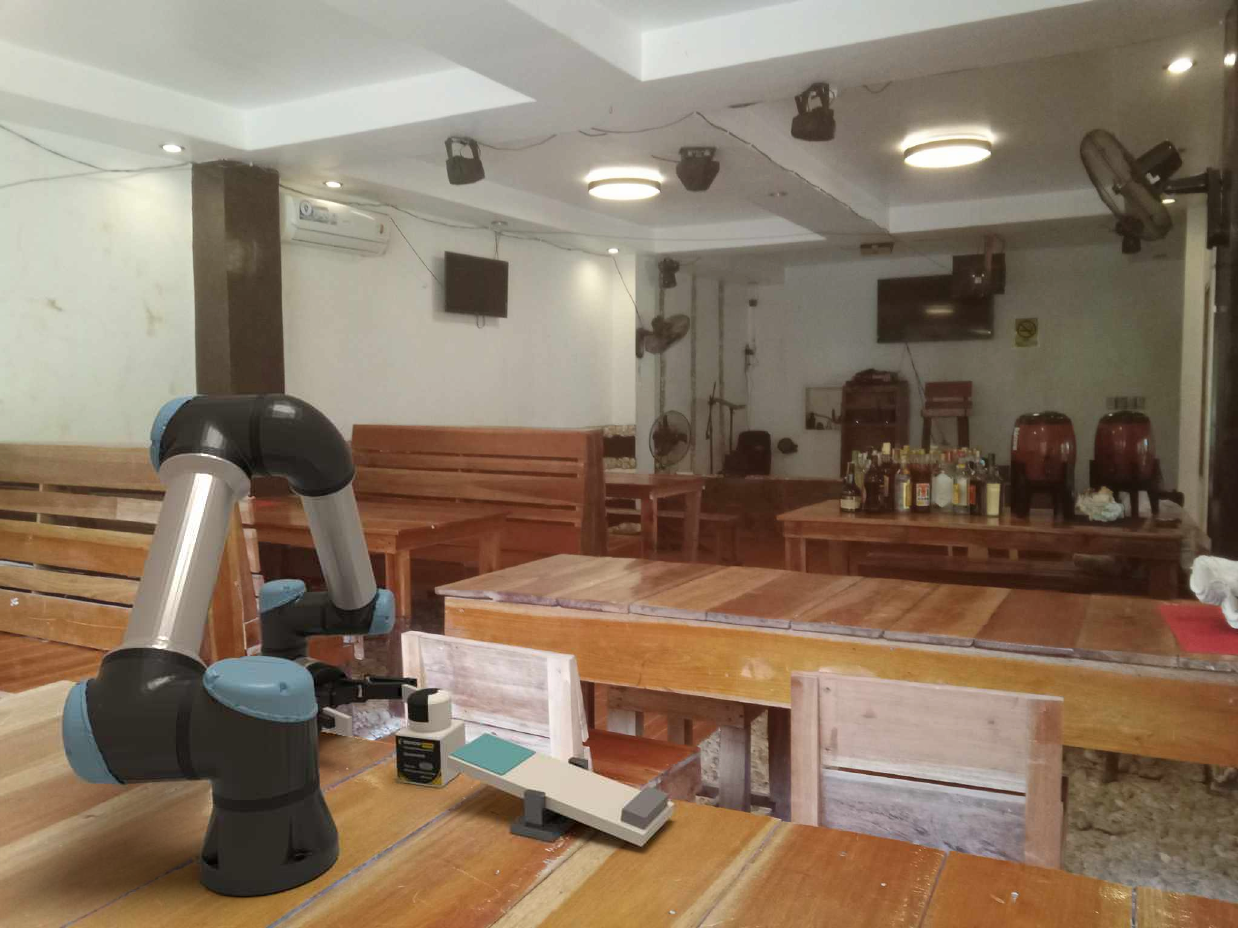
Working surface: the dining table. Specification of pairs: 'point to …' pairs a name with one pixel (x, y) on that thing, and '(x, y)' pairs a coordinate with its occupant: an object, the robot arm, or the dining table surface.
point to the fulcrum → (543, 814)
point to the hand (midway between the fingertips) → (391, 713)
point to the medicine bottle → (428, 739)
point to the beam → (565, 787)
